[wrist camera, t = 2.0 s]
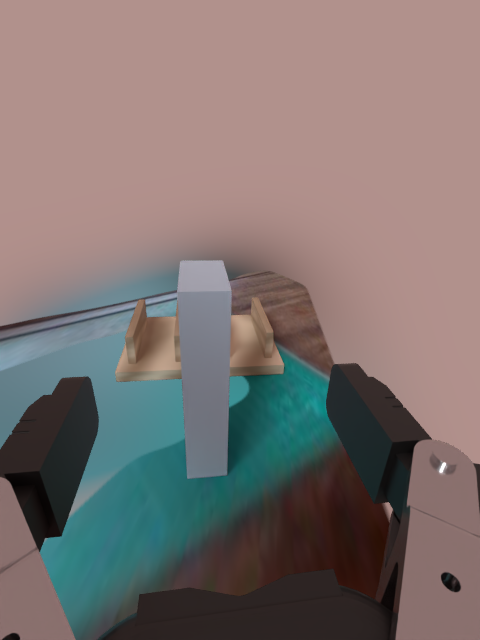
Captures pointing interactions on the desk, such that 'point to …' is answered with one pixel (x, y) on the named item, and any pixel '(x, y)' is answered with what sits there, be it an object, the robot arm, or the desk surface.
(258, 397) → the desk surface
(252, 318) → the rack
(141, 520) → the desk surface
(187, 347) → the grey tall block
